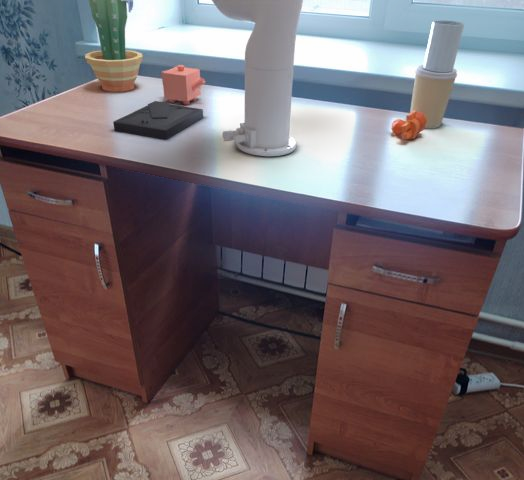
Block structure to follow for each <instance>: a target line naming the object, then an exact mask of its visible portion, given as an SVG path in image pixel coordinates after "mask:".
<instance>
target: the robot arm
mask: <svg viewBox="0 0 524 480" xmlns="http://www.w3.org/2000/svg"><path fill="white" fill-rule="evenodd" d="M211 2H212V3H213V4H214V6H215V7H216V9H217V10H218V11H219V12H220V13H221V14H222V15H223V16H225V17H226V18H228V19H231V20H235V21H240V22H245V23H251V24H254V26H253V29H252V31H251V33H250V35H249V38H248V40H247V43H246V46H245V51H244V122H240V123H239V127H237V128H236V129H235V130H231V129H230V130H224V131H222V139H223V141H224V142H228V141H233V142H234V144H236V146H237V148H238V149H239V150H241V151H242V152H243V153H245V154H249V155H253V156H260V157H280V156H284V155H289V154H290V153H292V152H294V151H295V150H296V148H297V141H296V140H295V138H293V136H290V128H291V116H292V115H291V114H292V97H293V82H294V81H293V80H294V64H295V52H296V42H297V41H296V40H297V32H298V27H299V21H300V18H301V13H302V9H303V4H304V0H211Z"/></svg>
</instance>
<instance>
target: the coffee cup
mask: <svg viewBox="0 0 524 480" xmlns="http://www.w3.org/2000/svg"><path fill="white" fill-rule="evenodd" d="M423 65H424V64H421V65H418V66H417V68H416V69H415V77H414V84H413V89H412V96H411V103H410V111H409V113H410V112H412V111H415V110H417V112H421V113H423V114H424V115H425V116H426V118H427V122H426V125H425V129H436V128H439V127H441V125H442V122H443V119H444V116H445V113H446V110H447V107H448V104H449V101H450V98H451V94H452V91H453V88H454V86H455V85H454V84H455V81H456V78H457V76H458V73H457V69H456V68H454V67H453V70H452V71H450V72H435V71H430V70H426V69H424V68H423Z"/></svg>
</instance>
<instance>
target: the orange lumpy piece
mask: <svg viewBox="0 0 524 480" xmlns="http://www.w3.org/2000/svg"><path fill="white" fill-rule="evenodd" d="M426 122H427V118H426V116H425V115H424V114H423V113H421V112H417V110H415V111H412V112H410V111H409V113H408V114H407V115H406V121H405V120H404V119H400V118H399V119H395V120H393V122H392V123H391V127H390V128H391V131H392V133H393V134H394V135H395V136H401V138H402V140H414V139H415V138H416V137H418V136H419V134H420V133H421V132H423V131H424V130H425V129H426V128H425V125H426Z"/></svg>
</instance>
